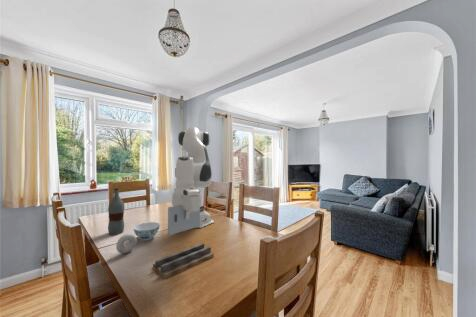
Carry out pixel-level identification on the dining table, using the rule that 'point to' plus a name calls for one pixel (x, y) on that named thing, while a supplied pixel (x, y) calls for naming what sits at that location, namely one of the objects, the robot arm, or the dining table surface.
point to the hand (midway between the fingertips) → (184, 218)
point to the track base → (184, 266)
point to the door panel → (181, 220)
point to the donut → (122, 240)
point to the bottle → (116, 214)
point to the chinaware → (146, 230)
